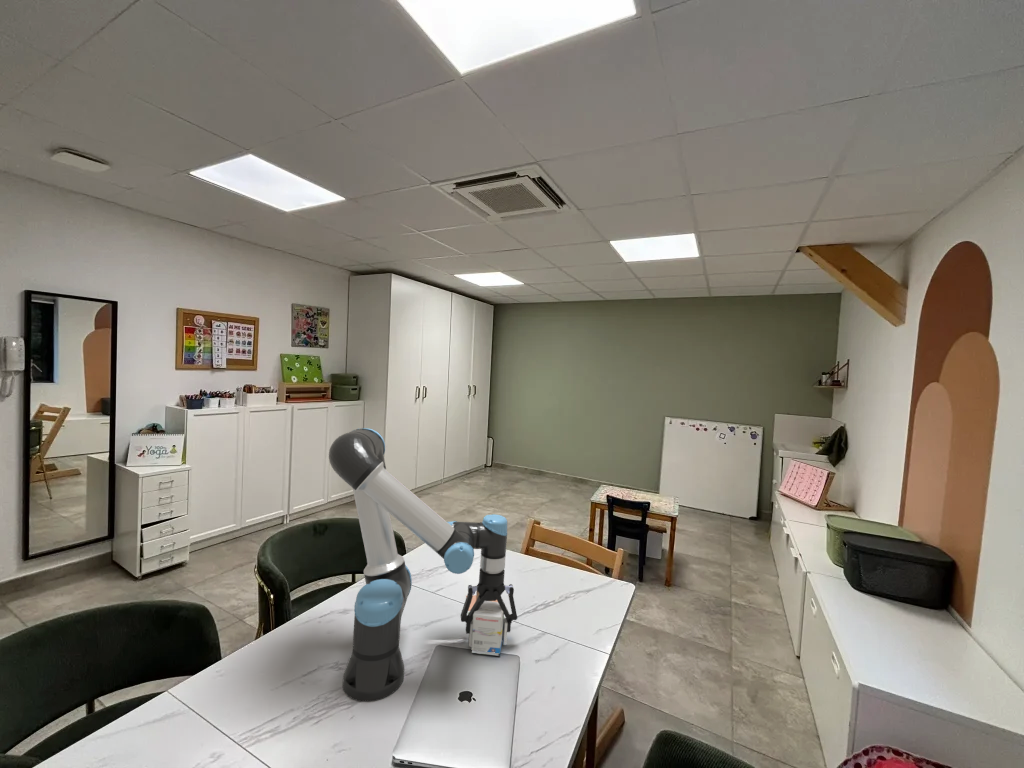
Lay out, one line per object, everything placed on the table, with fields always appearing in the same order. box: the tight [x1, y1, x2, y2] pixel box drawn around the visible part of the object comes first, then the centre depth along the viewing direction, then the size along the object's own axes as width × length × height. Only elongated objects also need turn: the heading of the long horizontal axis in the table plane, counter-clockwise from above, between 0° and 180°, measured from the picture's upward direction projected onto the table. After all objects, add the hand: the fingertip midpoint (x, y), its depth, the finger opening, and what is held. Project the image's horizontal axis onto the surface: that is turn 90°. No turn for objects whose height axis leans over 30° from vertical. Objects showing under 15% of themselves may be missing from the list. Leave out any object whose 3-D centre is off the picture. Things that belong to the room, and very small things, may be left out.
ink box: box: [471, 601, 506, 655], centre depth 122 cm, size 9×8×12 cm
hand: (487, 642), depth 122 cm, fingers closed on ink box, 10 cm apart
